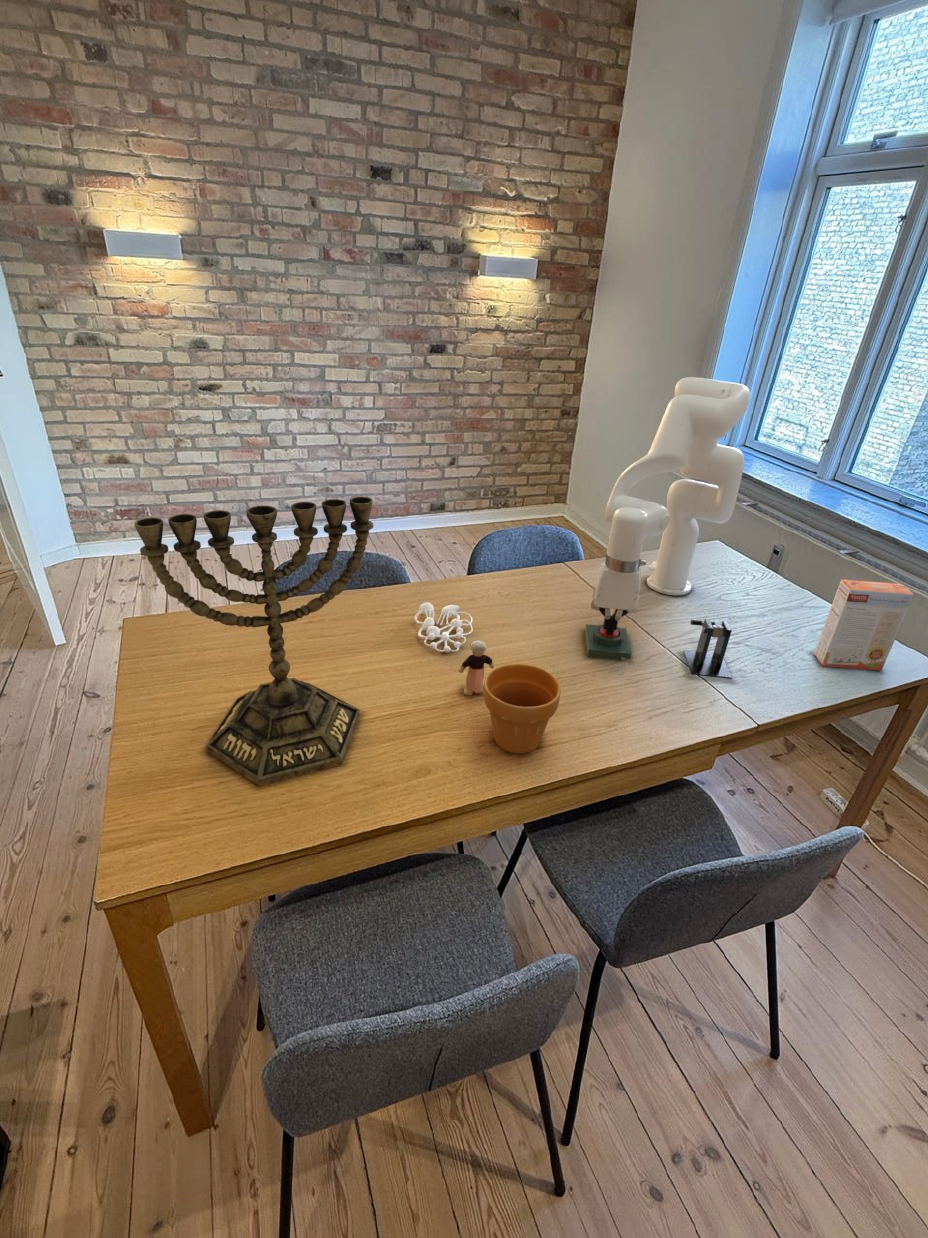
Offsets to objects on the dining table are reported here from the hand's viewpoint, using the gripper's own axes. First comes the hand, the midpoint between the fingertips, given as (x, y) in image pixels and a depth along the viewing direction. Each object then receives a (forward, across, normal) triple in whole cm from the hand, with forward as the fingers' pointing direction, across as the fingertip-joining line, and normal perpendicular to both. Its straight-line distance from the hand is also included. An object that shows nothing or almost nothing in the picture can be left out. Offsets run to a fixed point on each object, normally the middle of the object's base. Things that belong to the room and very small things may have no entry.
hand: (609, 631), depth 154 cm
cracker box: (+4, -58, -4) cm, 58 cm away
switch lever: (-3, -23, +1) cm, 23 cm away
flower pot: (+5, +20, +38) cm, 44 cm away
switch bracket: (+4, -23, +5) cm, 24 cm away
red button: (+2, 0, 0) cm, 2 cm away
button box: (+4, 0, 0) cm, 4 cm away
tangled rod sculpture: (+4, +40, +1) cm, 40 cm away
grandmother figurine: (+5, +30, +24) cm, 39 cm away
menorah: (+5, +64, +44) cm, 78 cm away
